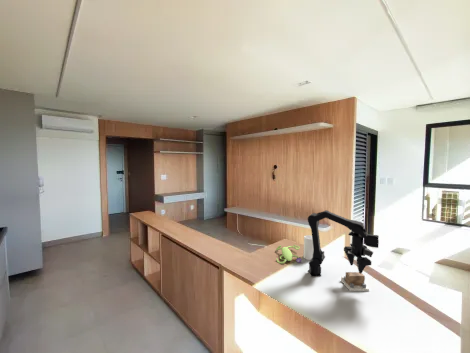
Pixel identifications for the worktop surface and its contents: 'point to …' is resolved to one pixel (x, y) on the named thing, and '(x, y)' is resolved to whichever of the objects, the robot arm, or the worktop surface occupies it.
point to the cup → (308, 247)
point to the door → (354, 278)
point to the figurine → (288, 254)
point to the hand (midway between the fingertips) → (355, 269)
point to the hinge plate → (355, 288)
